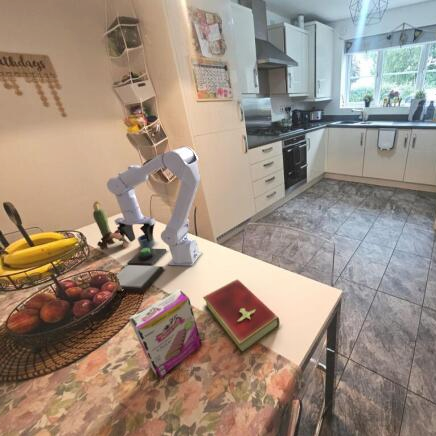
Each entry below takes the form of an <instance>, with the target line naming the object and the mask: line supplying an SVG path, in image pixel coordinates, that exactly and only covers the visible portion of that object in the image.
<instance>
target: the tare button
mask: <svg viewBox="0 0 436 436" xmlns="http://www.w3.org/2000/svg"><path fill="white" fill-rule="evenodd" d="M140 251H141V253H142V255H146V254H148V253H150V249H149V248H144V249H142V248H141V250H140Z"/></svg>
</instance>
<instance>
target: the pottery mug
mask: <svg viewBox="0 0 436 436" xmlns="http://www.w3.org/2000/svg"><path fill="white" fill-rule="evenodd" d="M125 237H126V236H125V235H124V234H123V233H122V232H121V231H120V230H118V229H116V230H114V232H112V231H111V232H108V233H107V234H105V235H104V236H102V237H101V238H100V241H98V242H97V246H98V247H99V249H100V250H101V251H102V250H105V249H107V250H109V247H108V245H114V244H116V242H115V241H114V239H115V240H117V241H119V242H122V244H121V246H122V247H123V248H124V249H126V248H127V247H128V246H129V242H128V241H127V240H128V239H126V238H125Z"/></svg>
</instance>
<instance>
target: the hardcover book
mask: <svg viewBox="0 0 436 436" xmlns="http://www.w3.org/2000/svg"><path fill="white" fill-rule="evenodd" d="M202 298H203V300H204V301H205V302H206V305H205V306H204V307H205V308H206V310H207V311H208V312H209V313H210V315H211V316H212V318H213V319H214V320H215V321H216V323H217V325H219V327H220V328H221V329H222V331H223V333H225V335H226V336H227V338H228V339H229V340H230V341H231V343H232V344H233V345H234V347H235V348H236V349H237V350H238V352H239V353H240V355H243V354H245V353H246V352H247V351H249V350H250V349H252V348H253V347H254V346H256V345H257V344H258V343H260V342H261V341H262V340H264V339H265V338H266V337H268V336H269V335H271V334H272V333H273V332H275V331H276V330H277V329H279V327H280V317H279V316H278V315H277V314H276V313H274V312H273V311H272V310H271V309H270V308H269V307H268V306H267V305H266V304H265V303H264V302H263V301H261V299H260V298H258V297H257V296H256V295H255V294H254V293H253V292H252V291H251V290H250V289H249V288H248V287H247V286H245V284H243V283H242V282H241V280H239V279H238V278H236V279H234V280H232V281H231V282H229V283H227V284H225V285H223V286H221V287H220V288H217V289H215V290H213V291H211V292H210V293H208V294H206V295H203V296H202Z"/></svg>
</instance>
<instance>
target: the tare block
mask: <svg viewBox="0 0 436 436" xmlns="http://www.w3.org/2000/svg"><path fill="white" fill-rule="evenodd" d="M143 249H144V248H143ZM149 249H150V253H148V254H146V255H142V253H141V250H140V251H138V253H137V254H135V255H134V256H133V257H132V258H130V259H129V260H128V261H127V262H126V264H127V265H137V266H155V264H156V263H158V261H159V260H160V259H161V258H162V257H163V256H164V255H165V254H166V253H167V251H168V250H167V249H166V248H153V247H151V248H149Z"/></svg>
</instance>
